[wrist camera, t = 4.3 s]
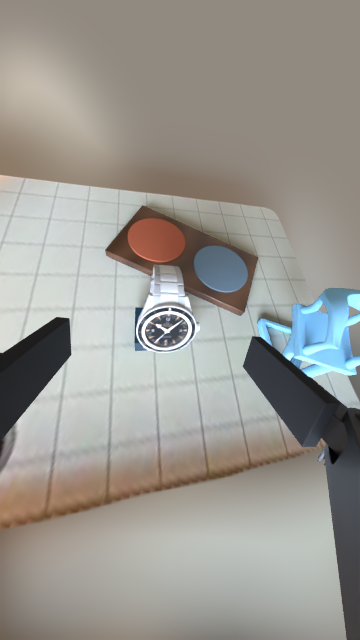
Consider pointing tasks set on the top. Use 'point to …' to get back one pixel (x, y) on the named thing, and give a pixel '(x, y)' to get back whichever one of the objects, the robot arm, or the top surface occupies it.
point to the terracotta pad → (156, 240)
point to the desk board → (185, 261)
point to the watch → (165, 314)
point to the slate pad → (220, 269)
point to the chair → (320, 333)
